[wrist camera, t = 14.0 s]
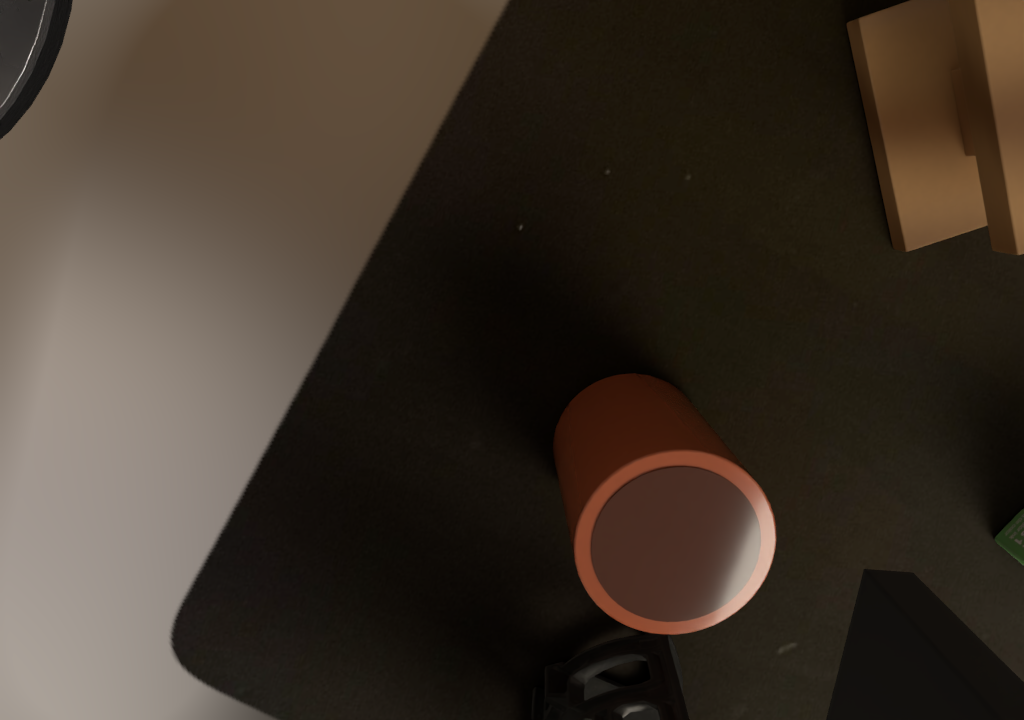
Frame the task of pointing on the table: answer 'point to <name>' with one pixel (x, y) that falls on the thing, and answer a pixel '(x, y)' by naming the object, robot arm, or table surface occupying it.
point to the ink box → (1013, 537)
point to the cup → (659, 508)
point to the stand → (946, 117)
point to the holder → (614, 684)
